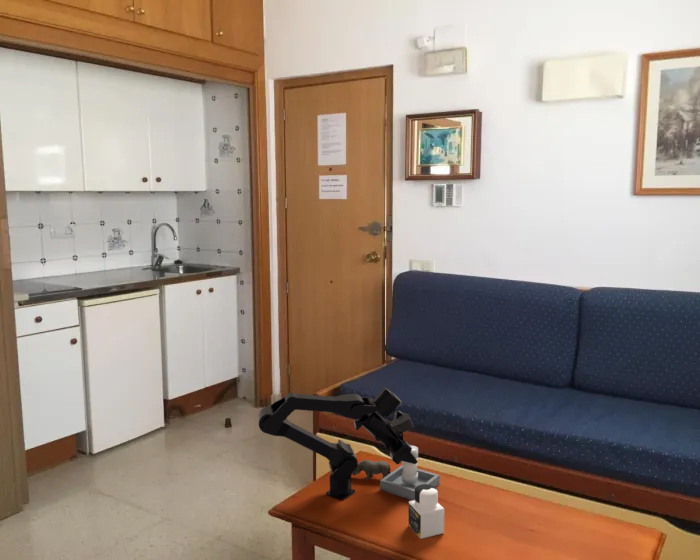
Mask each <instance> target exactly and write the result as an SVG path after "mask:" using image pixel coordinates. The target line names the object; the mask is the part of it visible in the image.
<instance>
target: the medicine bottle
mask: <svg viewBox="0 0 700 560" xmlns="http://www.w3.org/2000/svg"><path fill="white" fill-rule="evenodd" d="M438 492H439V489H438V488H437V487H435V486H433V485H429V484H421V485H418V486H417V487H416V488H415V500H409V501H408V527H409V528H410V529H411V530H412V531H413V532H414V533H415V534H416V536H417V537H418V538H419V539H420V540H421V539H426V538H430V537H434V536H438V535H439V536H440V535H442V534H444V533H445V508H444V507H443V506H442V505H441V504H440V503H439V502H438V499H439V496H438V495H439V493H438Z"/></svg>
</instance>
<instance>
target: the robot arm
mask: <svg viewBox="0 0 700 560" xmlns="http://www.w3.org/2000/svg"><path fill="white" fill-rule="evenodd" d="M402 404H403V402H402V400H401V399H400V398H399V396H397V395H396V394H395V393H394V391H390V390H389V389H388V388H387V387H383V388H382V389H381V390H380V392H379V393H378V394H377V395H376V396H375V397H374V399H373V398H372V397H371V396H360V394H357V393H348V394H347V393H346V394H342V395H337V396H329V395H327V396H326V395H315V394H303V393H296V392H289V393H287V394H286V395H285V396H283V397H282V398H280V399H278V400H275V401H274V402H273V403H272V404H271V405H269V406H265V407H262V408H261V409H260V410H259V413H258V417H257V418H258V419H257V420H258V428H259V429H260V432H262V433H263V434H264V433H265V434H267V435H271V436H274V437H284V438H286V439H288V440H290V441H292V442H293V443H296V444H298V445H300V446H301V447H304V448H306V449H308V450H310V451H312V452H314V453H315V454H316V453H317V454H318V455H320V456H321V457H323V458H326V459H327V461H328V466H329V468H330V475H329V490H327V491H326V492H325V495H326V496H328V497H332V498H334V499H338V500H341V501H344V500H345V499H347V498H349V497H350V496H351V495H353V494H354V493H356V490H355V489H354V488H352V476H353V474H352V472H353V471H354V470H355V469H356V468H357V465H358V463H359V460H358V459H357V456H356V454H355V450H354V449H353V448H352V445H351V443H350V444H349V443H346V442H343V441H342V439H338V441H337V442H334V443H333V442H330V441H328V440H326V439H324V438H322V437H320V436H319V435H316V434H314V433H312V432H310V431H308V430H306V428H305V429H304V428H303V427H301V426H299V425H296V424H295V423H294V422H291V421H289V420H288V417H289V416H290V415H291V414H292V413H293V412H294V411H295V410H297V411H307V412H308V411H310V412H321V413H322V412H323V413H333V414H338V415H339V416H343V417H345V418H349V419H353V422H354V423H353V426H354V429H355V430H356V431H358V430H360V428H364V429H365V431H367V432H368V433H370V434H371V435H372V436H373V437H374V439H375V440H376V441H377V442H380V443H381V444H382V445H383V446H384V448H385V450H389V449H391V450H390V452H389V457H390V458H391V460H392V462H393V463H395V465H399V464H400V463H402V462H403V461H404V462H408V463H412V464H416V463H417V464H418V459H417V460H416V458H415V457H414V456H413V454H412V453H411V450H412V448H411V446H412V445H411V444H410V442H409V441H406V439H404V433H405V432H408V430H411V429H413V428H414V427H415V425H414V423H413V422H412V419H411V417H410V415H409V414H408V413H406V412H402V411H401V410H397V409H398V408H399V407H400V406H401V405H402ZM396 410H397V411H396ZM393 413H394V417H393V420H391V421H390V420H388V419H386V418H388V417H390V416H391V415H392V414H393ZM383 417H386V418H383ZM410 445H411V446H410Z"/></svg>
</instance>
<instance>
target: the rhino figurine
mask: <svg viewBox="0 0 700 560" xmlns="http://www.w3.org/2000/svg"><path fill="white" fill-rule="evenodd" d="M391 470H392V469H391V466H390V464H389V463H388V462H387V461H383V460H378V461H377V460H376V461H372V460H370V459H364V460H361V461H358V465H357V468H356V469H355V470H354V471H353V472H352V476H356V475H358V474H361V472H365V475H366V477H365V481H370V480H371V478H373V477H374V475H380V474H381V475H382V478H381V479H383V478H384V477H386V476H387V475H389V474H390V473H391V472H392V471H391Z"/></svg>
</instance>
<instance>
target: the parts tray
mask: <svg viewBox="0 0 700 560" xmlns="http://www.w3.org/2000/svg"><path fill="white" fill-rule="evenodd" d="M402 471H403V464H401V465H400V466H399V467H397V468H396V469H394V470H393V471H390V472H391V473H390V474H389V475H388V474H387V476H386V477H384V478H383V477H382V478H383V479H382V478H381V479H380V480H379V482H380V483H379V490H380V491H384V492H386V493H389V494H391V495H395V496H398V497H402V498H404V499H407V500H409V501H413V500H415V488H416V487H417V486H418V485H421V484H429V485H433V486H435V487H436V488H437V487H438V486H439V485H440V478H441V477H440V474H437V473H434V472H430V471H426V470H423V469H420V468H417V472H418V482H416V483H414V484H407V483H404V482H403V481H402Z"/></svg>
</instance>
